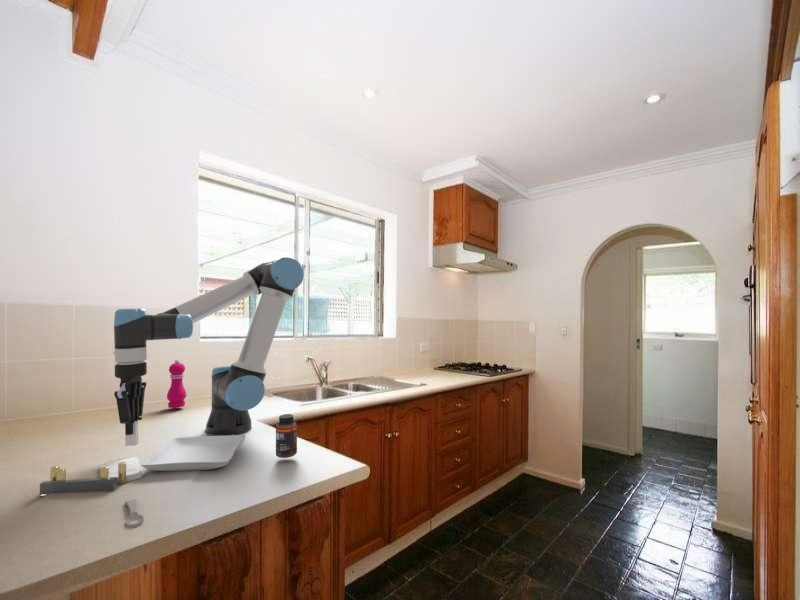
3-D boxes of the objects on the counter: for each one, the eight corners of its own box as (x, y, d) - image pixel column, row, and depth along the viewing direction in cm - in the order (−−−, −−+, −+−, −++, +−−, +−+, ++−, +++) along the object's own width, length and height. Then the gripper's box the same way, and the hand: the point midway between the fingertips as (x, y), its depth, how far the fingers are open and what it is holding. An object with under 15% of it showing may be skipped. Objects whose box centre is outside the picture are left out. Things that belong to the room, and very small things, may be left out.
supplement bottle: (295, 449, 116) (296, 412, 116) (298, 457, 110) (298, 417, 110) (274, 452, 114) (275, 413, 114) (276, 460, 108) (276, 419, 108)
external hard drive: (137, 462, 106) (142, 478, 96) (99, 470, 101) (100, 487, 91) (137, 456, 106) (142, 471, 96) (100, 463, 101) (100, 480, 91)
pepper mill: (180, 408, 161) (180, 360, 161) (162, 408, 161) (163, 360, 161) (189, 404, 168) (190, 358, 168) (173, 403, 168) (173, 358, 169)
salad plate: (246, 444, 121) (246, 433, 121) (228, 473, 100) (228, 459, 100) (173, 447, 118) (173, 436, 118) (139, 478, 97) (139, 465, 97)
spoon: (126, 533, 74) (126, 522, 74) (121, 507, 83) (121, 498, 83) (144, 527, 76) (145, 517, 76) (138, 503, 85) (138, 494, 85)
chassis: (127, 482, 94) (127, 461, 94) (115, 492, 89) (116, 470, 89) (53, 486, 92) (53, 465, 92) (37, 497, 87) (37, 474, 87)
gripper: (128, 359, 116) (129, 437, 116) (102, 366, 103) (103, 454, 103) (155, 358, 117) (156, 435, 117) (133, 365, 105) (134, 452, 105)
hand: (131, 444), depth 110 cm, fingers closed
